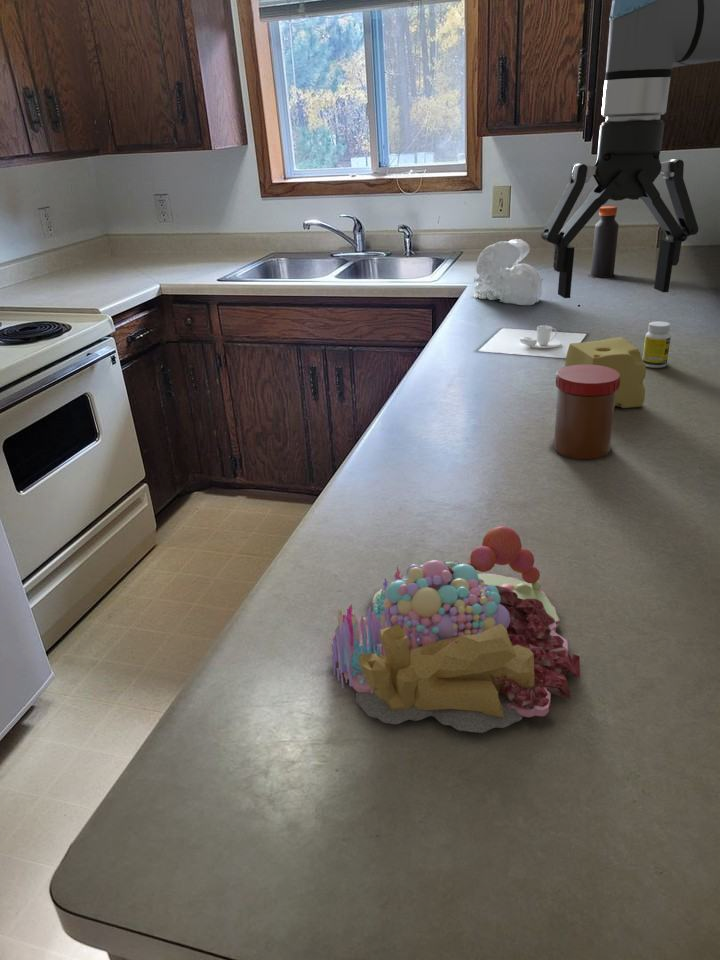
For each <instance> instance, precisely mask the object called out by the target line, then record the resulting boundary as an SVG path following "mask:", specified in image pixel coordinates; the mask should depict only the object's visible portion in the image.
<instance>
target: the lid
mask: <svg viewBox="0 0 720 960" xmlns="http://www.w3.org/2000/svg"><path fill="white" fill-rule="evenodd" d="M619 386H620V374H619V372H618V371H616V370H614V369H612V368H609V367H605V366H599V365H588V364H582V365H571V366H566V367H565V366H564V367H561V368H559V369H558V370H557V371H556V375H555V387H556V388H557V389H558V388H559V389H560V390H562V391H564V392H567V393H570V394H575V395H583V396H600V395H606V394H610V393H613V392H615V391H617V390H618V388H619Z"/></svg>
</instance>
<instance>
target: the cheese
mask: <svg viewBox="0 0 720 960" xmlns="http://www.w3.org/2000/svg"><path fill="white" fill-rule="evenodd" d="M642 359H643V357H642V355H641V351H640V349H639V348H638V347H637V346H635V345H634V344H633V343H632V342H630V341H629V340H627V339H626V338H623V337H621V336H618V337H617V336H616V337H610V338H606V339H600V340H593V341H583V342H582V341H581V343H571V344H570V345H569V348H568V352H567V355H566V358H565V363H564V367H566V366H571V365H582V364H588V365H599V366H605V367H609V368H612V369H614V370H616V371H618V372H619V374H620V386H619V388H618V390H617V391H616V398H615V407H620V408H622V409H628V408H629V409H630V408H640V407H642V406H643V404H644V402H645V398H646V389H645V386H644V380H645V378H646V376H647V375H646V374H647V367H646V366H645V363H644V362H643V361H642Z"/></svg>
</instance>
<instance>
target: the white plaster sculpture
mask: <svg viewBox="0 0 720 960" xmlns="http://www.w3.org/2000/svg"><path fill="white" fill-rule="evenodd" d="M530 251H531V250H530V244H529V243H528V242H526V241H524V240H523V239H521V238H514V239H510V240H509V241H502V240H500V241H496V242H494V243H493V244H490V245H488V246H486V247H485V248H484V249H482V251H481V252H480V253H479V255H478V256H477V262H476V273H477V275H478V278H476V277H473V283H477V284H475V285H474V288H473V298H476V299H477V298H479V299H481V300H483V299H484V300H485V299H488V300H490V301H496V300H497V299H499V302H501V303H504V304H514V305H517V306H533V305H535V303H539V301H540V299H541V297H542V294H543V281H544V278H542V277H541V274H540V272H539V271H538V270H537V268H535V267H534V266H532V265H530V264H528V263H525V262H524V263H523V262H522V261H523V260H524V259H525V257H526V256H528V254H529V253H530ZM519 262H522V263H519Z"/></svg>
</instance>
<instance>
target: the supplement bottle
mask: <svg viewBox="0 0 720 960" xmlns="http://www.w3.org/2000/svg"><path fill="white" fill-rule="evenodd" d="M670 331H671V323H670V322H667V321H662V320H661V321H660V320H658V321H651V322H649V323H648V328H647V332H646V333H645V337H644V345H643V352H642V361H643V362H644V363H645V366H646V368H652V369H659V368H660V369H662V368H665V367H666V366H667V365H668V359H669V352H670V346H671V339H672V338H671V337H672V336H671V333H670Z"/></svg>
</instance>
